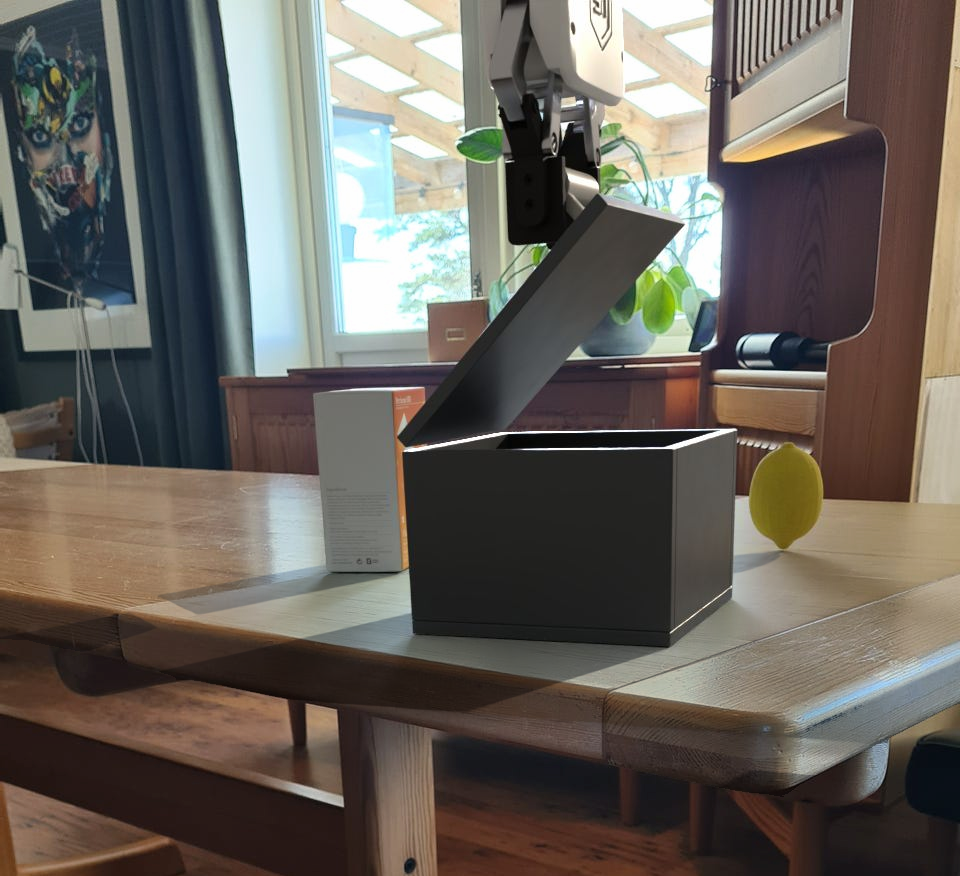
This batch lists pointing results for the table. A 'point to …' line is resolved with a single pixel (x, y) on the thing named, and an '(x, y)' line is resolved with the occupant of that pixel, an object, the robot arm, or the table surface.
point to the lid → (546, 314)
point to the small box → (364, 476)
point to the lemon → (786, 495)
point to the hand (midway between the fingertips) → (556, 242)
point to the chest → (571, 534)
